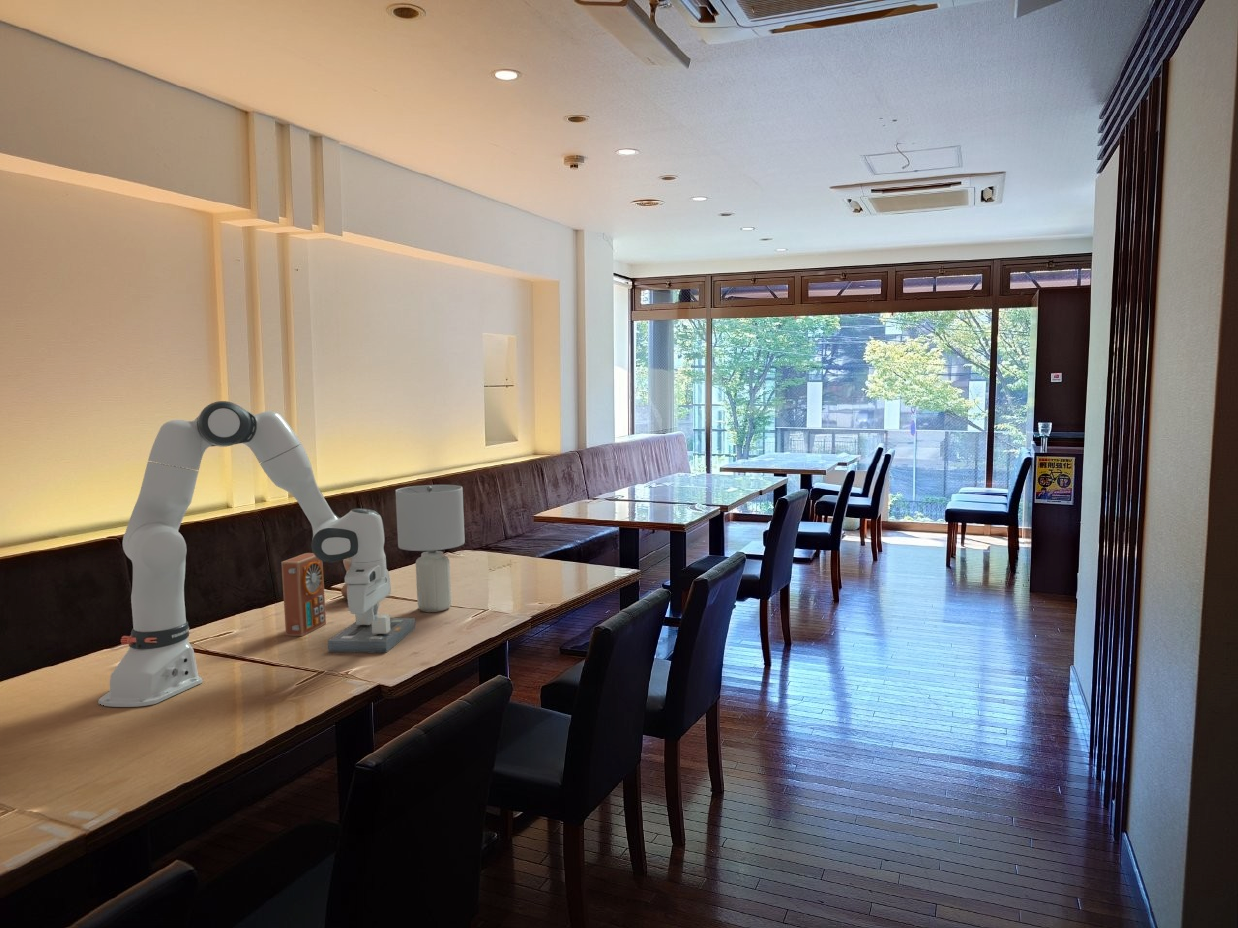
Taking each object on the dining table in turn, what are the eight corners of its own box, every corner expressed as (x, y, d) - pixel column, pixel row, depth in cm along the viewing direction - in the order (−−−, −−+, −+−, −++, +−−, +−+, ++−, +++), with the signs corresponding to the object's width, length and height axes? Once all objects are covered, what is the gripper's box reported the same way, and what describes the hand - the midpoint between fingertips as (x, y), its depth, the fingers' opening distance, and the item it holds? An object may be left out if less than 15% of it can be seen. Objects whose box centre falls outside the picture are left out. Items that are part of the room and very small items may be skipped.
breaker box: (386, 652, 220) (386, 641, 219) (328, 652, 221) (327, 640, 221) (415, 628, 241) (414, 617, 241) (361, 627, 243) (361, 617, 243)
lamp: (430, 621, 248) (424, 492, 244) (387, 611, 260) (381, 488, 257) (480, 606, 264) (475, 484, 260) (438, 597, 276) (433, 481, 273)
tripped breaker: (386, 633, 225) (385, 617, 224) (372, 633, 225) (371, 617, 225) (390, 630, 228) (389, 614, 227) (376, 630, 228) (375, 614, 228)
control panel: (330, 622, 249) (302, 637, 235) (309, 621, 251) (280, 636, 236) (326, 552, 247) (297, 563, 233) (305, 551, 249) (275, 562, 234)
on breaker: (369, 624, 234) (368, 609, 233) (355, 624, 234) (355, 609, 234) (373, 621, 237) (372, 606, 236) (360, 621, 237) (359, 606, 237)
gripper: (372, 560, 229) (376, 609, 231) (341, 579, 209) (345, 632, 210) (394, 560, 229) (398, 609, 230) (365, 578, 208) (369, 632, 210)
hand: (372, 620), depth 220 cm, fingers closed
